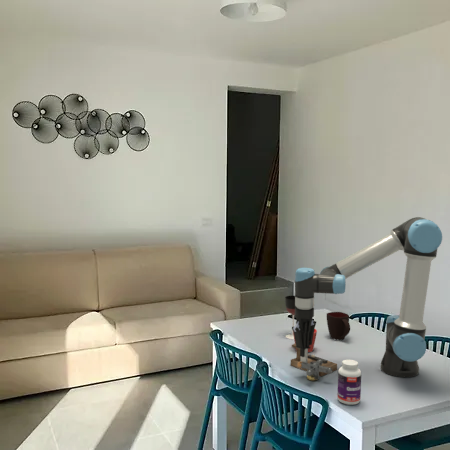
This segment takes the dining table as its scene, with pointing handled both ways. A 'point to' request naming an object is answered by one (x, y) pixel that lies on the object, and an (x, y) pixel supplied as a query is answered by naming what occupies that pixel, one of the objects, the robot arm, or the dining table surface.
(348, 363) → the pill bottle
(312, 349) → the flower pot
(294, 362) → the level stand
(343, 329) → the cup
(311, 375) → the capstan
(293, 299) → the wineglass
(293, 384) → the dining table surface
